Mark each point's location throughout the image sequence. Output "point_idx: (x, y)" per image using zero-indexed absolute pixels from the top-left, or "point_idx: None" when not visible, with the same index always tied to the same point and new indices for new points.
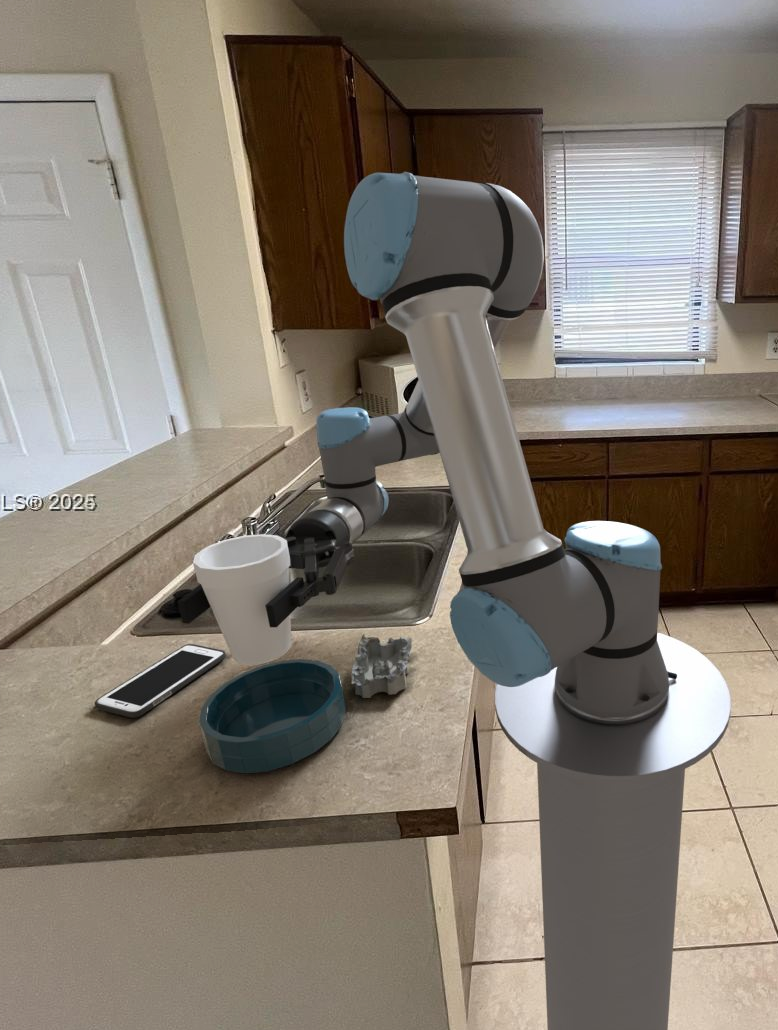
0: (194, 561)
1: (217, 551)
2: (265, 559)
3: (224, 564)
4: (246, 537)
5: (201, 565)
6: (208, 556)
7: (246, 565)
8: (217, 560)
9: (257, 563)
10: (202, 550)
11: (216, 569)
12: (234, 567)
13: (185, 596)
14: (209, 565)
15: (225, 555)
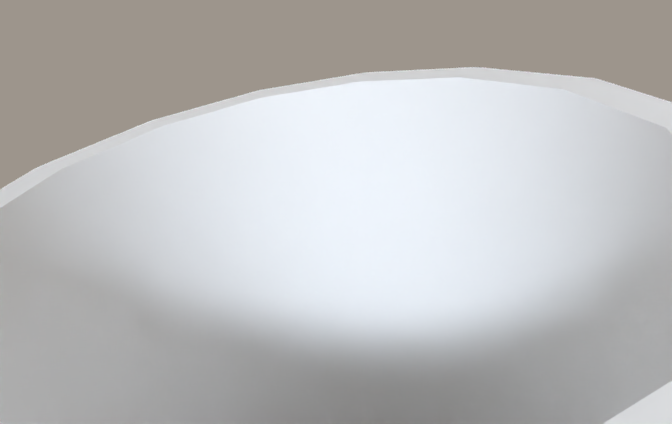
0: (476, 68)
1: (663, 213)
2: (13, 188)
3: (642, 363)
4: (662, 401)
5: (385, 75)
6: (605, 165)
7: (119, 135)
8: (639, 275)
9: (58, 159)
10: (643, 99)
11: (267, 90)
12: (180, 115)
13: None
14: (577, 219)
15: (669, 321)
